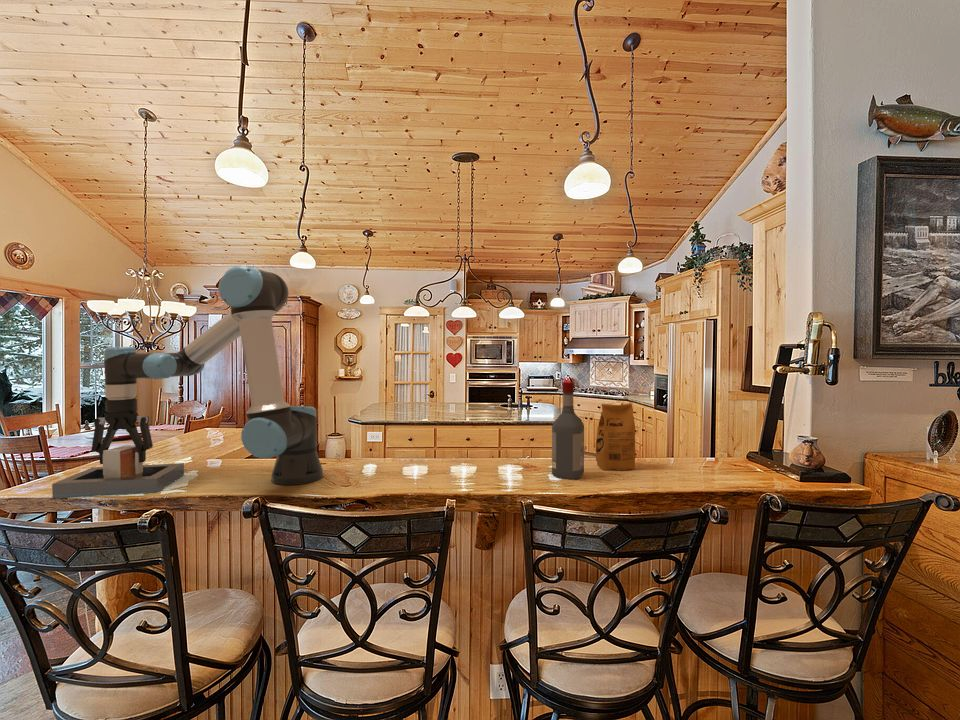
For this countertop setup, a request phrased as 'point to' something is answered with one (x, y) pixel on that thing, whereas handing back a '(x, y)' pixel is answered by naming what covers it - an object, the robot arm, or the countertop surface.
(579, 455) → the liquor
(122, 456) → the small box
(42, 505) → the countertop surface
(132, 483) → the tray
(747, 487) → the countertop surface
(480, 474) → the countertop surface
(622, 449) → the coffee package
